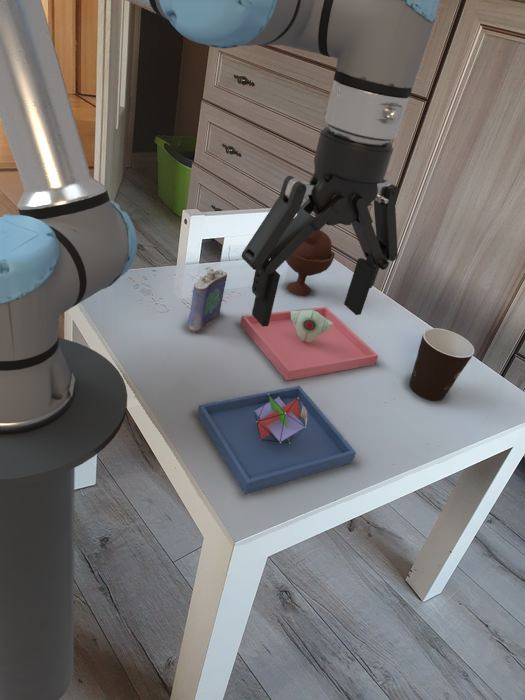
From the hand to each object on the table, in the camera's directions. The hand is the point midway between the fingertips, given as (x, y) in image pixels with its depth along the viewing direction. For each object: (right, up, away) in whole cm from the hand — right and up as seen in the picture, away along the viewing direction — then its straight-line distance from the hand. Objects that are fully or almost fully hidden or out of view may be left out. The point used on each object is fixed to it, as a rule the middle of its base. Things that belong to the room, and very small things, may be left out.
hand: (308, 314), depth 66 cm
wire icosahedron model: (-4, -17, +11) cm, 20 cm away
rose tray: (+3, -3, +34) cm, 34 cm away
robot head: (+2, -3, +34) cm, 34 cm away
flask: (-16, +1, +34) cm, 37 cm away
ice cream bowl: (+2, +9, +52) cm, 53 cm away
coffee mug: (+24, -11, +30) cm, 41 cm away
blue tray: (-4, -17, +11) cm, 21 cm away
